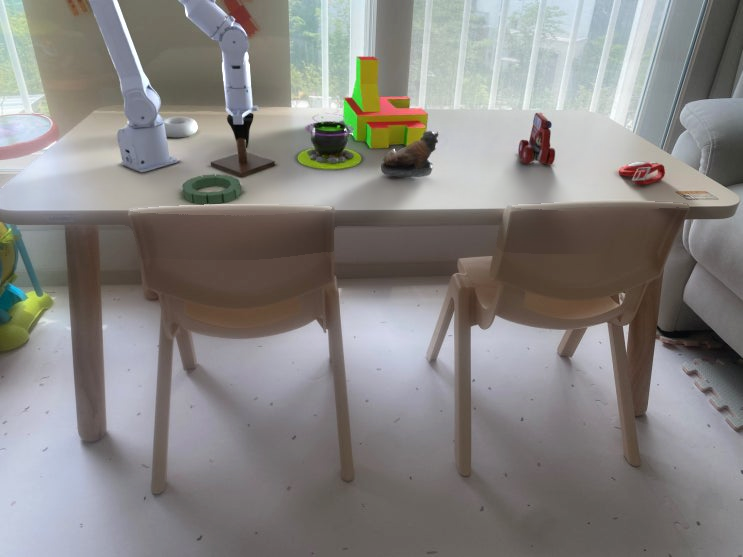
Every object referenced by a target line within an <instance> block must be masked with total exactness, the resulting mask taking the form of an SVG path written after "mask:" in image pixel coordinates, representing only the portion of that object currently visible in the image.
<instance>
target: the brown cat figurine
mask: <svg viewBox="0 0 743 557" xmlns="http://www.w3.org/2000/svg"><path fill="white" fill-rule="evenodd" d="M438 137H439V131H436V132H434V131H433V130H427V131H426V132H425V131H424V132H423V137H422V138H420V140H421V141H415V142H413V143H411V144H410V145H408V146H407V147H406V146H405V147H403V148H401V149H399V150H398V151H396V150H395V148H392V149H391V150H390V151H388V152H387V153H386V154H385V156H384V158H383V162H382V163H381V164H380V171H381V172H382V173H383V175H387V176H392V177H397V178H398V177H399V178H419V177H427V176H430V175H431V174H432V171H433V167H434V164H433V162H431V160H430V159H429V158H430V156H431V154H432V153H433V152H434V151H436V149H437V147H436V146H437V144H438V143H439V140H438Z"/></svg>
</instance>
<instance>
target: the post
mask: <svg viewBox="0 0 743 557" xmlns="http://www.w3.org/2000/svg"><path fill="white" fill-rule="evenodd" d="M235 143H236V152H237V153H235V154H232V155H229V156H226V157H222V158H219V159H216V160H213V161H210V167H212V168H214V169H218V170H220V171H223V172H226V173H228V174H231V175H234V176H237V177H240V178H244V177H246V176H250V175H252V174H254V173H255V174H256V173H257V172H260V171H263V170H266V169H269V168H271V167H275V165H276V161H275V160H272V159H270V158H267V157H263V156H261V155H257V154H254V153H251V152H248V151H247V148H246V139H244V138H238V139H235Z"/></svg>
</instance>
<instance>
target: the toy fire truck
mask: <svg viewBox="0 0 743 557" xmlns="http://www.w3.org/2000/svg"><path fill="white" fill-rule="evenodd" d="M552 125H553V123H552V121H550V120H548V118H547V117H546V116H545V115H544V113H543V112H535V113H534V117H533V120H532V127H531V130H530V136H529V139H520V141H519V143H518V149H517V150H518V151H517V152H518V156H519V157H521V159H522V160H521V161H522V164H528V165H529V164H531V162H533V161H537V162H538V163H542V164H545V165H548V166H549V165H550V166H551V165H553V164H554V162H555V159H556V150H555V148H554V147H551V135H552V132H551V128H552Z"/></svg>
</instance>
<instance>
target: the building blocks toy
mask: <svg viewBox="0 0 743 557" xmlns="http://www.w3.org/2000/svg"><path fill="white" fill-rule="evenodd" d="M378 78H379V59H378V58H376V57H375V56H356V59H355V81H354V86H353V91H352V95H351V97H347V96H346V97H344V96H343V105H342V106H343V107H342V108H343V110H342V112H343V114H342V118H343V120H342V121H343V123H344V124H346V125H347V124H348V126H349V125H350V126H352V127H353V128H355V129H353V128H351V129H353V130H354V132H352V131H353V130H352V131H351V134H352V137H353V138H354V140H355V142H365V143H366V144H367V146H368V147H369V149H389V147H390V146H391V145H403V146H405V147H407V146H408V145H410V144H411V143H413V142H415V141H421V140H420V138H422V137H423V132H424V131H425V132H428V121H429V120H428V119H429V113H428V112H427V111H425V110H424V109H423V108H422V107H414V108H413V107H412V108H411V107H410V106H411V98H410V97H409V96H380V93H379V85H378V81H379V80H378ZM343 116H345V117H343ZM345 118H347V119H346V120H345ZM344 120H345V121H344ZM347 130H348V131H350V130H349V128H348V127H347Z"/></svg>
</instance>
